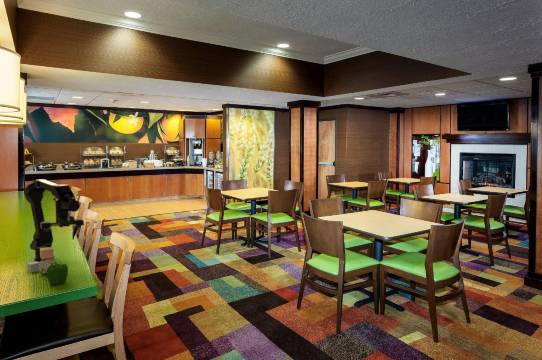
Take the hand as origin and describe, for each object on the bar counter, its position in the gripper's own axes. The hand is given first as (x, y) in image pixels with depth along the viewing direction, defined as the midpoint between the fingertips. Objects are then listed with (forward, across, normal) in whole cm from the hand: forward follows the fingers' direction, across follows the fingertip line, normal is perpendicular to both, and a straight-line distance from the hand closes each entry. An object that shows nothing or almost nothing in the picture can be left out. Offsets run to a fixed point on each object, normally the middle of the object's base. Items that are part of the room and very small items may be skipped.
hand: (62, 240), depth 192 cm
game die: (+13, -8, -9) cm, 18 cm away
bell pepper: (+13, -6, -26) cm, 30 cm away
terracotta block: (+5, -8, -9) cm, 13 cm away
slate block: (+13, -13, -1) cm, 18 cm away
